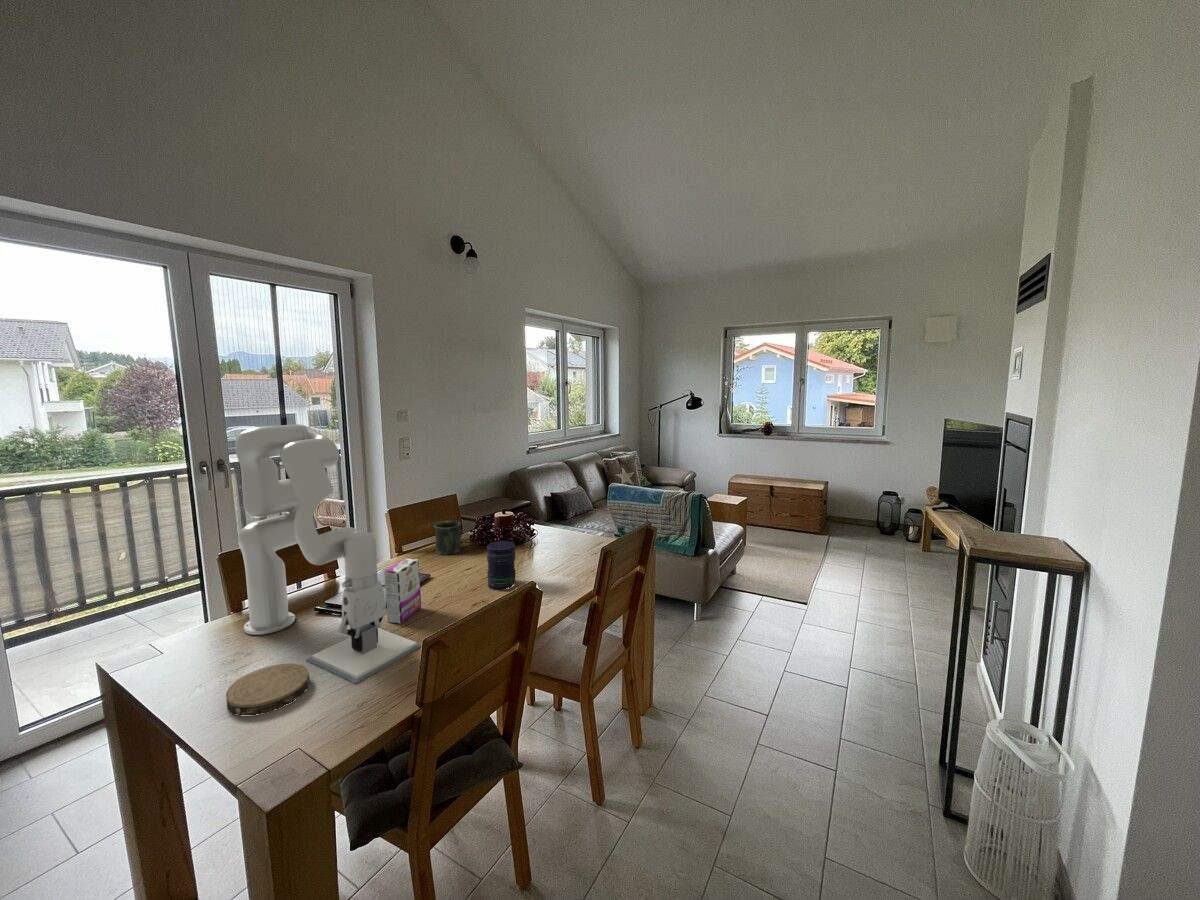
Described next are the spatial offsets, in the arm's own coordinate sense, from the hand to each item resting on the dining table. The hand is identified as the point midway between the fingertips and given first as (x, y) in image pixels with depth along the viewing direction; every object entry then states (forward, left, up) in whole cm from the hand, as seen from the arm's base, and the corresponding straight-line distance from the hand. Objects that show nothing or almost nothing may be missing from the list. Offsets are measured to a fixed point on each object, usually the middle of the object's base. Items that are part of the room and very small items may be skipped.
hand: (365, 645), depth 131 cm
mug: (-41, +71, -3) cm, 82 cm away
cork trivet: (-4, -22, -3) cm, 23 cm away
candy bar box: (-9, +20, -3) cm, 22 cm away
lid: (0, 0, -2) cm, 2 cm away
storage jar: (+2, +53, -2) cm, 53 cm away
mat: (0, 0, -2) cm, 2 cm away
